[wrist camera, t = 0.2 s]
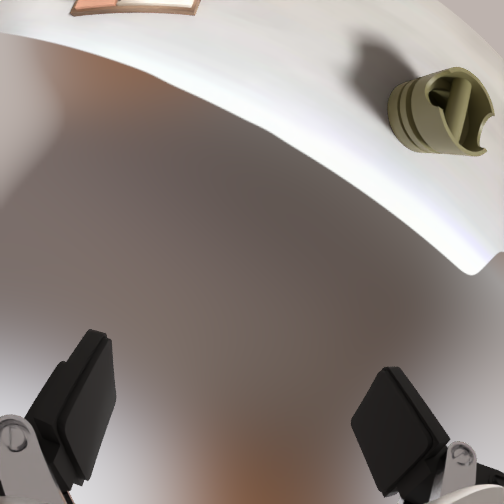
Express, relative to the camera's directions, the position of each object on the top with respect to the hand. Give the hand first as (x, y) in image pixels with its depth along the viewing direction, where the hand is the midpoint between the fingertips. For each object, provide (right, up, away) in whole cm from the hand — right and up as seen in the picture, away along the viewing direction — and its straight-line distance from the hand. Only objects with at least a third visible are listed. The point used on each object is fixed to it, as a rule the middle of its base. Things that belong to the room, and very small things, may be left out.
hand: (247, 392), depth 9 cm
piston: (+25, +25, +27) cm, 45 cm away
